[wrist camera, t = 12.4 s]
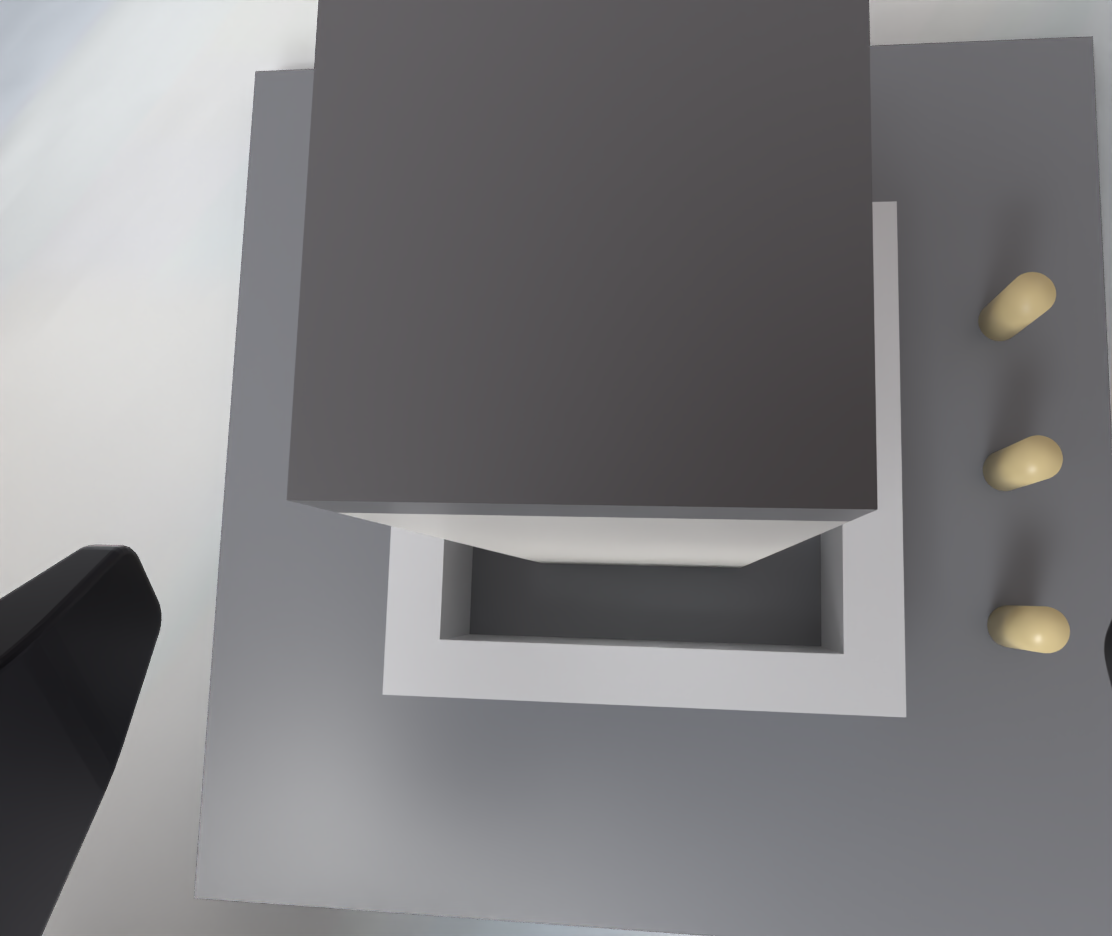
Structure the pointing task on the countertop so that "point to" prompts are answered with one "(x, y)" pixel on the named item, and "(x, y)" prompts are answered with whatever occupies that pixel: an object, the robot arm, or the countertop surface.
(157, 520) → the countertop surface
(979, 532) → the header dock
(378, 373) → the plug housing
